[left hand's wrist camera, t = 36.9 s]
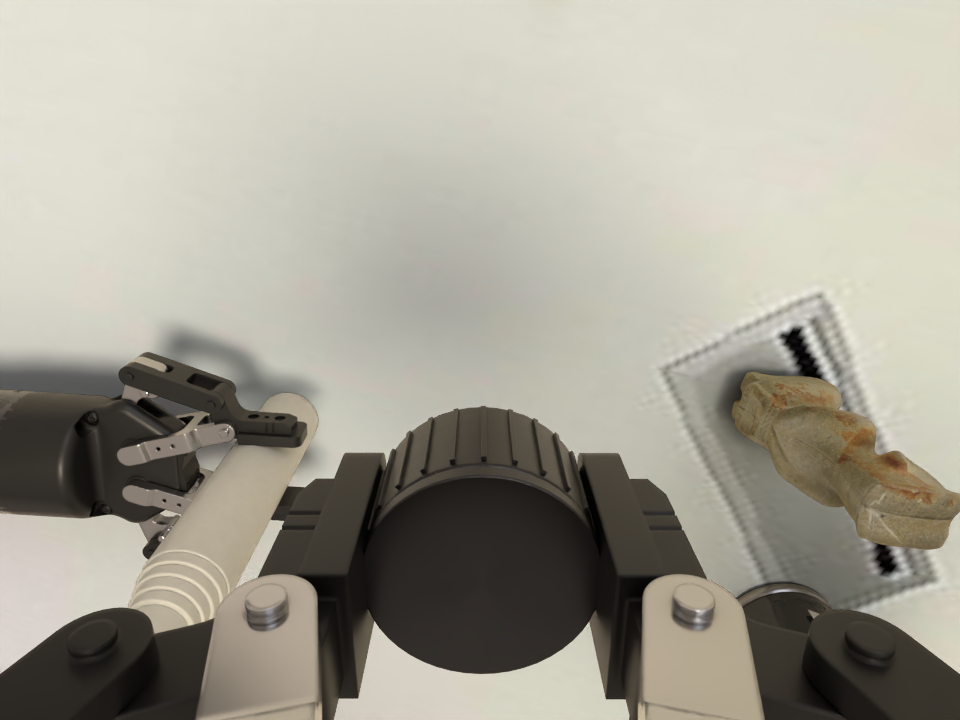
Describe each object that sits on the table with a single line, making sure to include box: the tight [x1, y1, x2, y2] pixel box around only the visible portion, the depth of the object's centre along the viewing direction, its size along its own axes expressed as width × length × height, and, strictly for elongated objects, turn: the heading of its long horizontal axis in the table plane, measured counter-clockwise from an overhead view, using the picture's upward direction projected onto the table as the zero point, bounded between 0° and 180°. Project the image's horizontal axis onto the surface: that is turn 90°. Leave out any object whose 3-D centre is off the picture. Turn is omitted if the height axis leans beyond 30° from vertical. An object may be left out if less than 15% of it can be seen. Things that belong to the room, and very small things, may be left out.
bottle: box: [128, 393, 318, 634], centre depth 36 cm, size 4×4×24 cm
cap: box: [364, 406, 600, 674], centre depth 11 cm, size 4×4×2 cm
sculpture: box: [731, 372, 960, 550], centre depth 39 cm, size 6×7×15 cm
